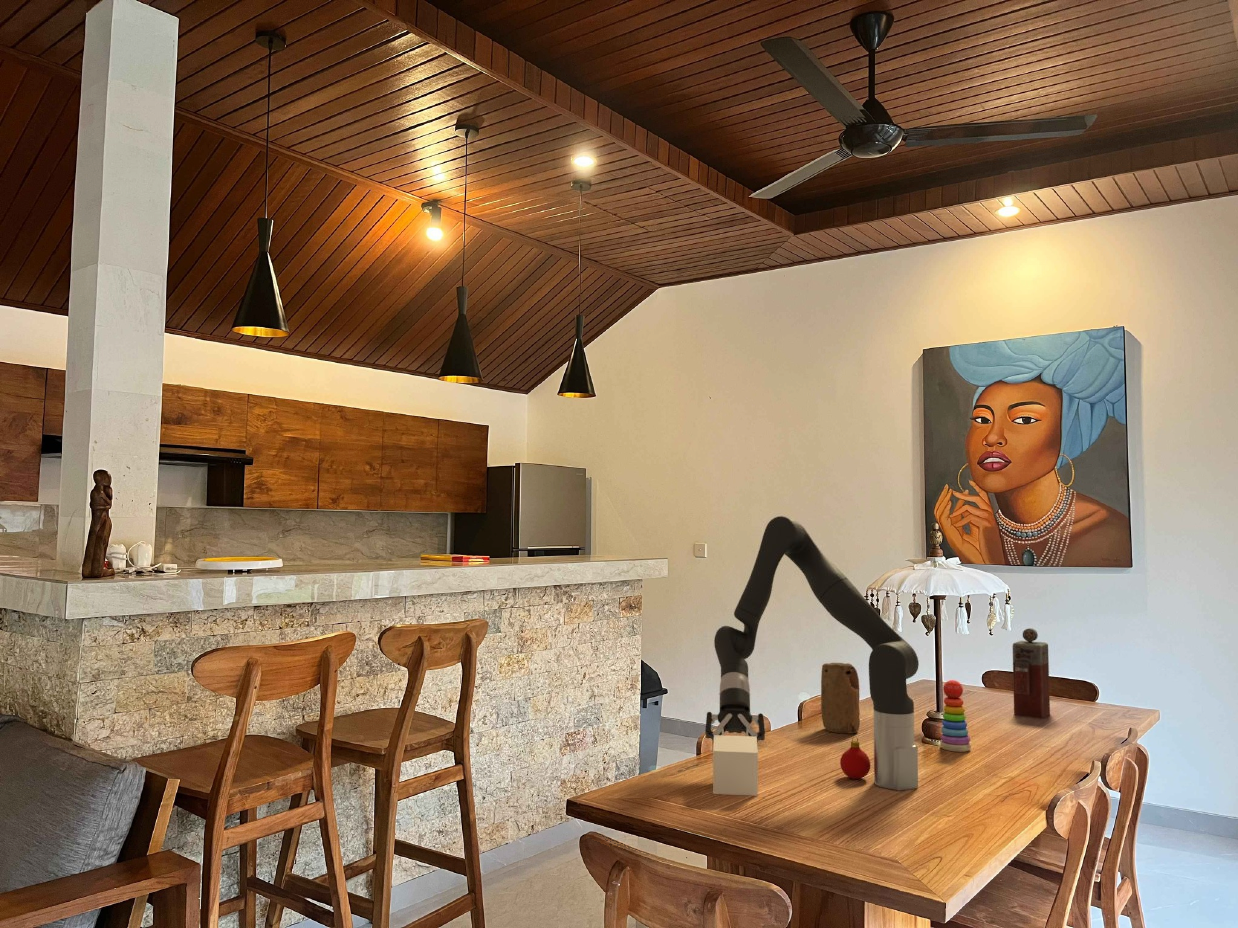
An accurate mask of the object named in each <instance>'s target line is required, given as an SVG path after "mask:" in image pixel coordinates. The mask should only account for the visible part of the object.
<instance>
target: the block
mask: <svg viewBox="0 0 1238 928" xmlns="http://www.w3.org/2000/svg"><path fill="white" fill-rule="evenodd" d="M820 676H821V679H820V693H821V694H820V706H821V707H820V708H821V709H820V710H821V711H820V712H821V720H822V725H823V728H824V729H825V730H826V731H828V732H830V733H836V734H849V735H850V734H851V735H852V734H855V733H857V732H859V730H860V724H861V719H860V711H861V710H860V680H859V676H858V672H857V669H856V667H855V666H853V665H852V663H849V662H848V663H845V662H844V663H843V662H829V663H823V664H822V665H821V674H820Z"/></svg>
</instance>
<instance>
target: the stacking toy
mask: <svg viewBox="0 0 1238 928" xmlns="http://www.w3.org/2000/svg"><path fill="white" fill-rule="evenodd" d="M942 688H943V689H942V690H943V693H944V694H945V696H946V697H945V698H944V699H943V702H944V704H945V705H944V707H943V713H942V718H943V720H942V721H941V723H942V727H941V730H940V731H941V733H942V734H941V736H940V738H941V741H940V742H939V745H940V748H941V749H943V750H945V751H949V752H956V753H958V752H959V753H963V752H964V753H965V752H968V751H970V750H971V749H972V744H971V743H970V741H971V737H970V736H969V735H968V734H969V729H968V728H967V727H968V722H967V721H966V718H967V716H966V714H965V712H966V708H965V706H964V700H963V699H962V698H961V696H962V695H963V692H964V688H963V686H962V684H961V683H960V682H959V681H958V680H955V679H950V680H947V681H946V682H945V683H944V685H943V687H942Z"/></svg>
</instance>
